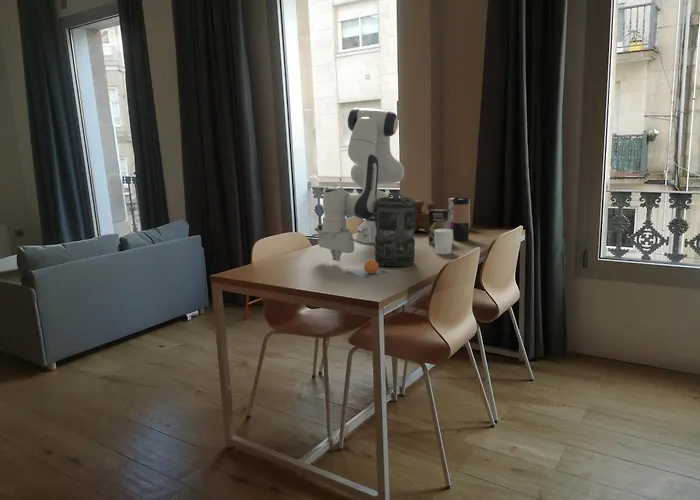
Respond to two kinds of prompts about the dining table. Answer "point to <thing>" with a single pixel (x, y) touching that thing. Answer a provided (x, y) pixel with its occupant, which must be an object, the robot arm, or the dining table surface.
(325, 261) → the dining table surface
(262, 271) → the dining table surface
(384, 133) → the robot arm
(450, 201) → the candy bar box
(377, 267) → the ball
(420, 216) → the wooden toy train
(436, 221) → the coffee box
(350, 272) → the mark
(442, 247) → the white cup
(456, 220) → the travel mug
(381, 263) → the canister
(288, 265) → the dining table surface
